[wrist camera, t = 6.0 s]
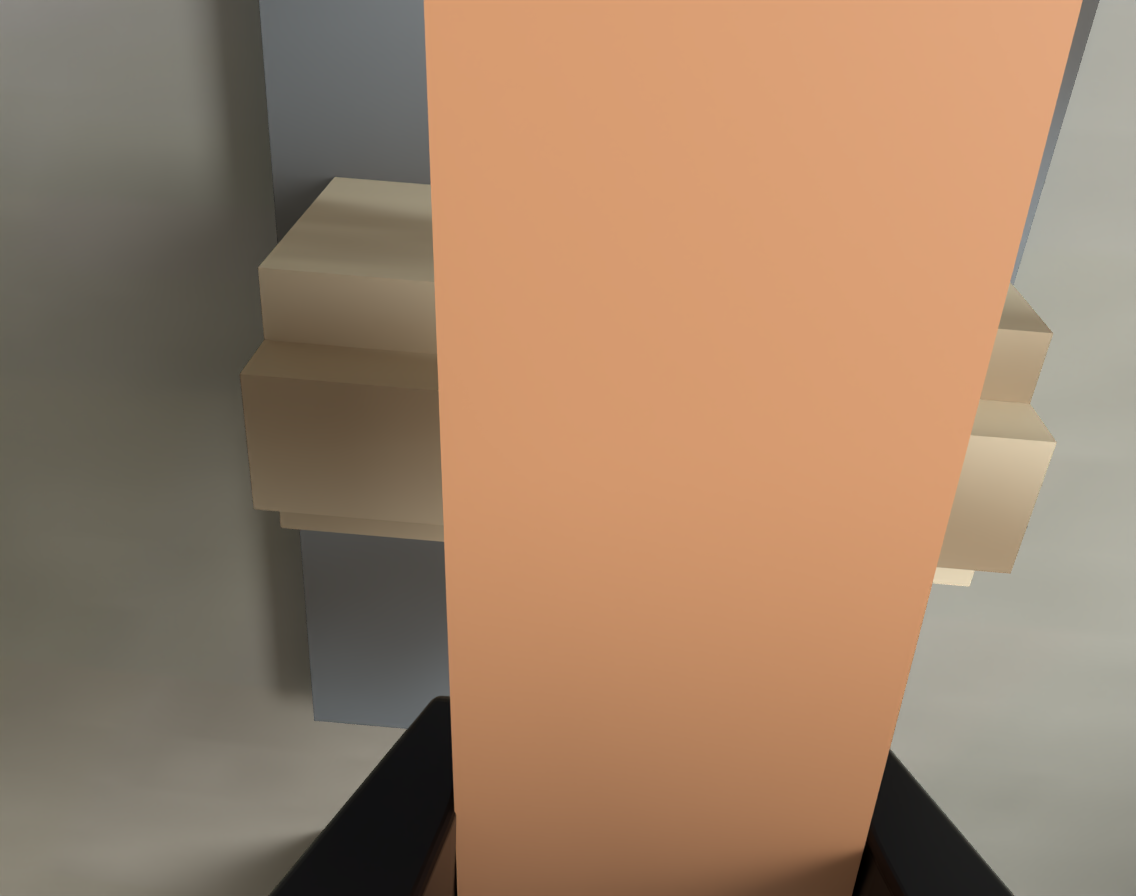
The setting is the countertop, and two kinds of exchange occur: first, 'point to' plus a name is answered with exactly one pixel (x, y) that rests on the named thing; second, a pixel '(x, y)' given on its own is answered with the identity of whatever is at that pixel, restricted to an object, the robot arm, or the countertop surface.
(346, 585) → the ridge
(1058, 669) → the countertop surface
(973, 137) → the bar
